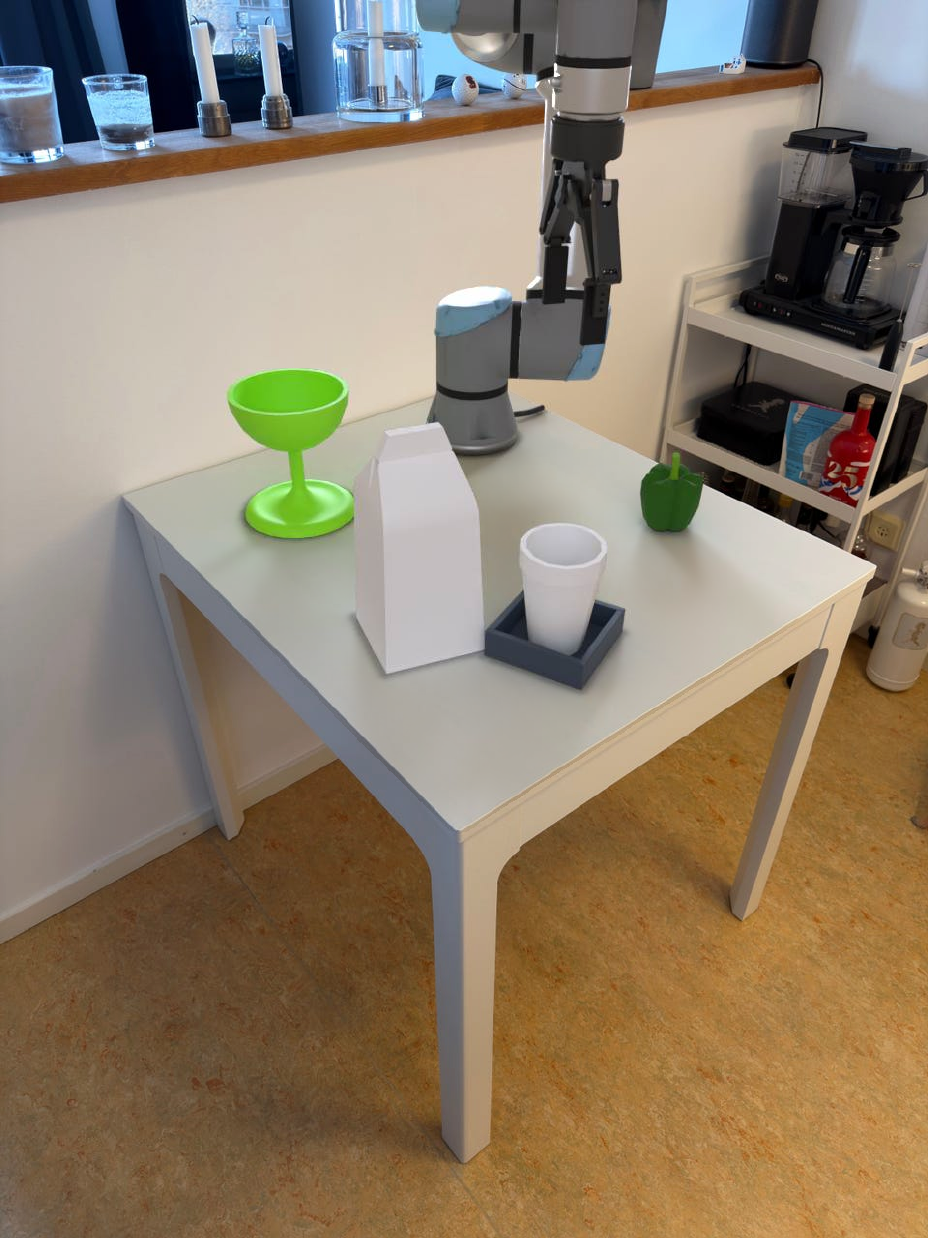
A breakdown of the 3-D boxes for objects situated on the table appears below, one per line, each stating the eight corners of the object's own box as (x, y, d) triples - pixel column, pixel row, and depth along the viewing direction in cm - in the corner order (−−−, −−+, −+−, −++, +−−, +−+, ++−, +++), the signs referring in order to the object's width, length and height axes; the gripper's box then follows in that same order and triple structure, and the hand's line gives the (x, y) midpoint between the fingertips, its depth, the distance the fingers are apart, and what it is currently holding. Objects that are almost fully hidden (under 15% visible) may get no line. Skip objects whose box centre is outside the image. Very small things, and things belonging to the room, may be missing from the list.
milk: (386, 674, 100) (374, 462, 85) (356, 617, 109) (340, 415, 93) (484, 649, 104) (491, 442, 88) (448, 596, 112) (447, 399, 97)
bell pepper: (682, 545, 122) (694, 479, 116) (627, 528, 126) (636, 463, 120) (704, 519, 128) (717, 455, 122) (651, 503, 132) (660, 441, 126)
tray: (531, 602, 111) (532, 579, 109) (622, 632, 107) (625, 608, 105) (484, 655, 103) (484, 630, 101) (581, 690, 98) (583, 665, 96)
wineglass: (298, 551, 120) (283, 426, 110) (221, 512, 128) (201, 393, 118) (380, 505, 131) (373, 387, 120) (304, 473, 139) (292, 359, 128)
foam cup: (536, 607, 110) (542, 515, 102) (607, 630, 106) (619, 535, 98) (501, 650, 103) (505, 554, 95) (576, 675, 99) (586, 578, 92)
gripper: (518, 96, 99) (510, 290, 112) (596, 138, 80) (576, 366, 93) (582, 94, 101) (567, 286, 114) (674, 134, 82) (644, 359, 95)
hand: (571, 322), depth 104 cm, fingers open, 13 cm apart
